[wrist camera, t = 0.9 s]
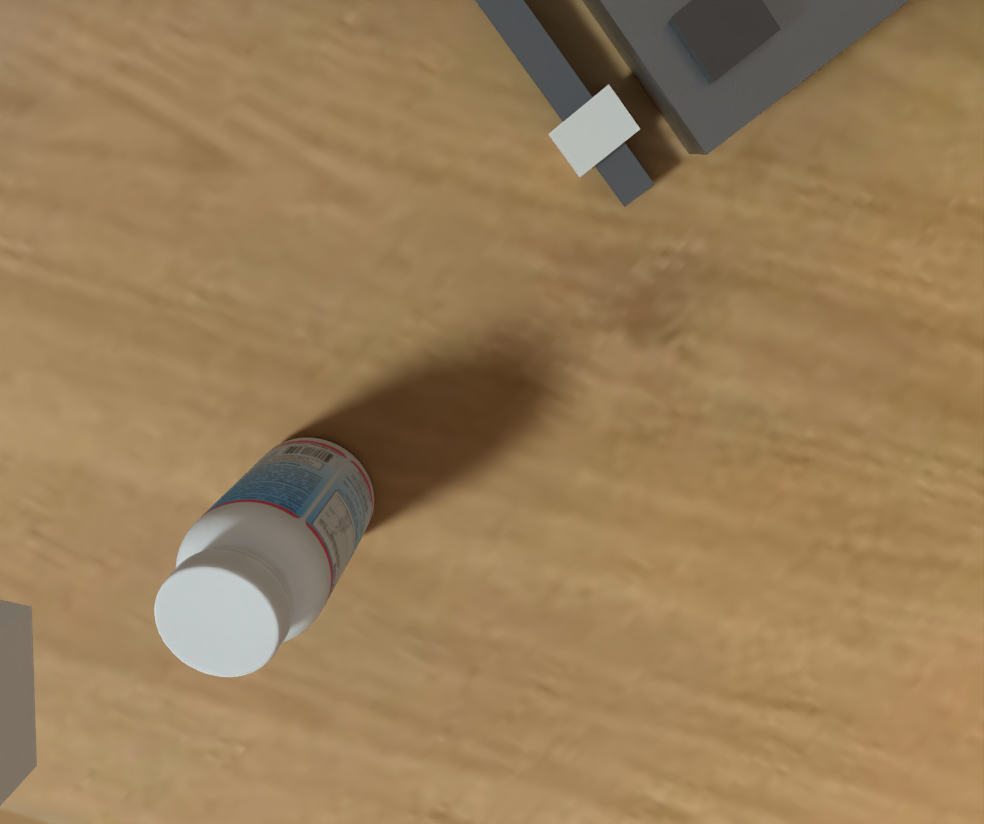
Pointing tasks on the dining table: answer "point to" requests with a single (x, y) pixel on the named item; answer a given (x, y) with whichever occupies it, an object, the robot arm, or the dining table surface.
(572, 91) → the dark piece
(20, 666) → the robot arm
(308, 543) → the pill bottle
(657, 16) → the panel
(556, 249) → the dining table surface
